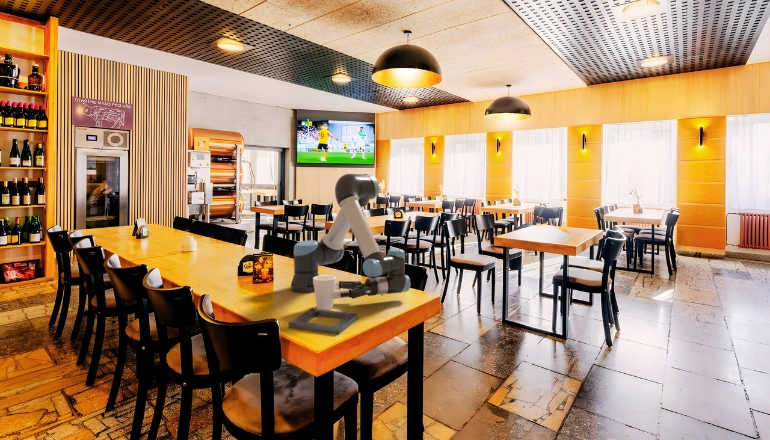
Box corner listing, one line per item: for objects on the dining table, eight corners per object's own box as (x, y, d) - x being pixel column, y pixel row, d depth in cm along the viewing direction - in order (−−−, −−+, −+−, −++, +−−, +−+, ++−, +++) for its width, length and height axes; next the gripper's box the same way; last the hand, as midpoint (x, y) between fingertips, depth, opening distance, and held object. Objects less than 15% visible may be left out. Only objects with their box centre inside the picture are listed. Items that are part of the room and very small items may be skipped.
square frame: (288, 327, 143) (288, 322, 143) (311, 313, 159) (311, 308, 159) (339, 334, 137) (339, 328, 137) (358, 318, 153) (358, 313, 153)
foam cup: (314, 305, 170) (314, 275, 169) (336, 304, 171) (336, 274, 170) (312, 312, 161) (312, 280, 160) (335, 311, 161) (335, 280, 160)
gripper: (386, 302, 162) (335, 308, 154) (366, 287, 185) (321, 292, 177) (386, 284, 161) (335, 289, 153) (366, 272, 184) (321, 275, 176)
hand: (327, 291), depth 165 cm, fingers open, 13 cm apart
